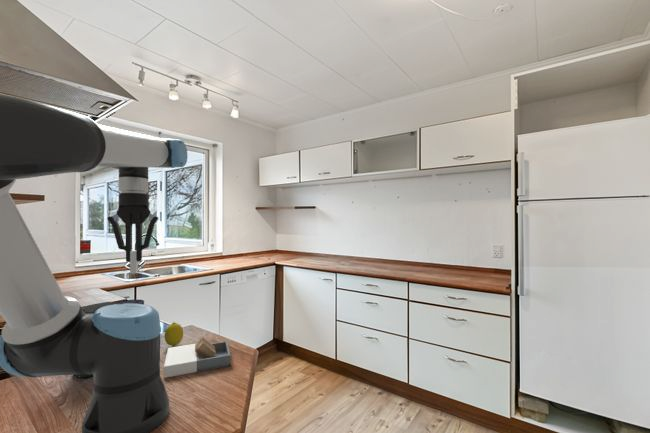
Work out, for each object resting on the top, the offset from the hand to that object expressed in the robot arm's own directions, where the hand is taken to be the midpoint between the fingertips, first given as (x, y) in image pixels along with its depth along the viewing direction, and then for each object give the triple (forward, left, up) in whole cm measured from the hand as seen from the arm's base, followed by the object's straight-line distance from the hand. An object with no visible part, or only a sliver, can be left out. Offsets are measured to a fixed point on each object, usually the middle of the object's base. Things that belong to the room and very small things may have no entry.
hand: (134, 272), depth 90 cm
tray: (-8, -21, -26) cm, 35 cm away
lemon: (+8, -10, -27) cm, 30 cm away
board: (-7, -13, -26) cm, 30 cm away
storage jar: (+12, +4, -27) cm, 29 cm away
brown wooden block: (-7, -18, -24) cm, 31 cm away
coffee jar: (-1, +9, -27) cm, 28 cm away
